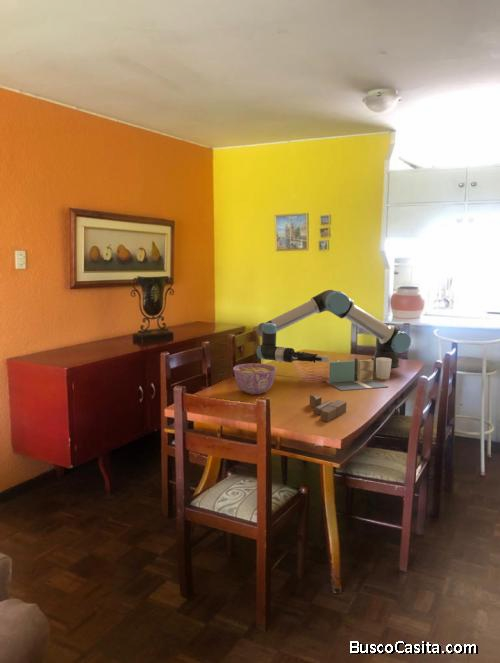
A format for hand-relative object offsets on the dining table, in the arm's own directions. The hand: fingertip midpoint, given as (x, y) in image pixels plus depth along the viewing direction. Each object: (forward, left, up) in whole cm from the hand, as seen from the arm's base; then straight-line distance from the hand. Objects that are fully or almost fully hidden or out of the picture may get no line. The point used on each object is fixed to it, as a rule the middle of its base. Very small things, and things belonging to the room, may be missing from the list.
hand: (328, 359), depth 260 cm
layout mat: (-11, +8, -11) cm, 18 cm away
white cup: (-32, 0, -12) cm, 34 cm away
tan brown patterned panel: (-18, +4, -11) cm, 22 cm away
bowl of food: (+41, +9, -12) cm, 44 cm away
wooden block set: (+25, +45, -12) cm, 54 cm away
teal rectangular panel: (-6, +4, -11) cm, 13 cm away
